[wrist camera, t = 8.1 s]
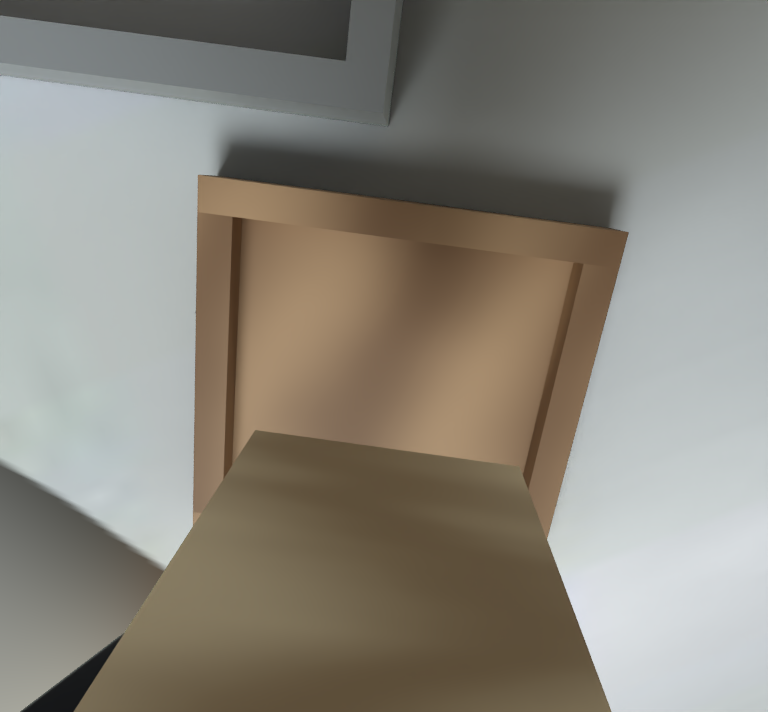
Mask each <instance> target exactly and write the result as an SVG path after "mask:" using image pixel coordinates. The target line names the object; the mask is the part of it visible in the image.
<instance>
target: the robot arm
mask: <svg viewBox="0 0 768 712" xmlns="http://www.w3.org/2000/svg"><path fill="white" fill-rule="evenodd" d="M123 634H124V633H123ZM123 634H122V635H121V636H119V637H118V638H117V639H115V640H114V641H113V642H111V643H110V644H109V645H108V646H106V647H105V648H103V649H102V650H101V651H100V652H98V653H97V654H95V655H94V656H93V657H92V658H90V659H89V660H88V661H87V662H85V663H84V664H82V665H81V666H80V667H78V668H77V669H76V670H74V671H73V672H72V673H70V675H68V676H67V677H65V678H64V679H63V680H61V681H60V682H59V683H57V684H56V685H55V686H53V687H52V688H51V689H49V690H48V691H47V692H45V693H44V694H43V695H42V696H40V697H39V698H38V699H36V700H35V701H34V702H32V703H31V704H30V705H28V706H27V707H26V708H24V709H23V710H22V711H21V712H74V710H75V709H76V707H77V706H78V704H79V703H80V701H81V700H82V698H83V696H84V695H85V693H86V692H87V690H88V689H89V687H90V686H91V684H92V682H93V681H94V679H95V678H96V676H97V675H98V673H99V672H100V670H101V669H102V667H103V665H104V664H105V662H106V661H107V659H108V658H109V656H110V655H111V653H112V651H113V650H114V648H115V647H116V645H117V644H118V642H119V641H120V639H121V637H122V636H123Z"/></svg>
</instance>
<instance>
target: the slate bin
mask: <svg viewBox="0 0 768 712" xmlns="http://www.w3.org/2000/svg"><path fill="white" fill-rule="evenodd" d="M402 7H403V0H351V9H350V20H349V31H348V42H347V53H346V61H343V60H335V59H328V58H320V57H313V56H305V55H297V54H290V53H282V52H275V51H267V50H259V49H252V48H244V47H237V46H229V45H221V44H214V43H206V42H199V41H191V40H183V39H176V38H168V37H161V36H153V35H145V34H138V33H130V32H123V31H115V30H107V29H100V28H92V27H84V26H77V25H69V24H62V23H54V22H46V21H39V20H31V19H24V18H16V17H8V16H1V15H0V75H3V76H10V77H18V78H26V79H33V80H41V81H48V82H56V83H63V84H71V85H78V86H86V87H94V88H101V89H109V90H116V91H124V92H131V93H139V94H146V95H154V96H162V97H169V98H177V99H184V100H192V101H199V102H207V103H214V104H222V105H230V106H237V107H245V108H252V109H260V110H267V111H275V112H282V113H290V114H298V115H305V116H313V117H320V118H328V119H335V120H343V121H351V122H358V123H366V124H373V125H381V126H388V125H389V117H390V108H391V100H392V91H393V83H394V75H395V66H396V58H397V49H398V41H399V32H400V24H401V16H402Z"/></svg>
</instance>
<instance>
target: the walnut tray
mask: <svg viewBox="0 0 768 712" xmlns="http://www.w3.org/2000/svg"><path fill="white" fill-rule="evenodd" d="M628 233H629V232H625V231H620V230H615V229H611V228H605V227H597V226H590V225H582V224H575V223H567V222H560V221H552V220H545V219H537V218H530V217H522V216H515V215H507V214H500V213H492V212H485V211H477V210H470V209H462V208H455V207H447V206H440V205H432V204H425V203H417V202H410V201H402V200H395V199H387V198H380V197H372V196H365V195H357V194H350V193H342V192H335V191H327V190H320V189H312V188H305V187H297V186H290V185H282V184H275V183H267V182H260V181H252V180H245V179H237V178H230V177H222V176H210V175H198V215H197V284H196V353H195V422H194V491H193V526H194V524H195V523H196V521H197V519H198V518H199V516H200V515H201V513H202V512H203V510H204V509H205V507H206V505H207V504H208V502H209V501H210V499H211V498H212V496H213V495H214V493H215V492H216V490H217V488H218V487H219V485H220V484H221V482H222V481H223V479H224V478H225V476H226V474H227V473H228V471H229V470H230V468H231V467H232V465H233V464H234V462H235V460H236V459H237V457H238V456H239V454H240V453H241V451H242V450H243V448H244V446H245V445H246V443H247V442H248V440H249V439H250V437H251V436H252V434H253V433H254V431H255V430H259V431H266V432H274V433H281V434H288V435H295V436H303V437H310V438H317V439H324V440H331V441H339V442H346V443H353V444H360V445H368V446H375V447H382V448H389V449H396V450H404V451H411V452H418V453H425V454H433V455H440V456H447V457H454V458H462V459H469V460H476V461H483V462H490V463H498V464H505V465H512V466H519V467H520V469H521V472H522V475H523V477H524V480H525V483H526V485H527V488H528V491H529V493H530V496H531V499H532V501H533V504H534V507H535V509H536V512H537V515H538V517H539V520H540V523H541V525H542V528H543V531H544V533H545V536H546V539H547V537H548V533H549V530H550V526H551V522H552V518H553V515H554V511H555V507H556V503H557V500H558V496H559V492H560V488H561V485H562V481H563V477H564V473H565V470H566V466H567V462H568V458H569V455H570V451H571V447H572V443H573V440H574V436H575V432H576V428H577V425H578V421H579V417H580V413H581V409H582V406H583V402H584V398H585V394H586V391H587V387H588V383H589V379H590V376H591V372H592V368H593V364H594V361H595V357H596V353H597V349H598V346H599V342H600V338H601V334H602V331H603V327H604V323H605V319H606V316H607V312H608V308H609V304H610V301H611V297H612V293H613V289H614V286H615V282H616V278H617V274H618V271H619V267H620V263H621V259H622V256H623V252H624V248H625V244H626V241H627V237H628Z"/></svg>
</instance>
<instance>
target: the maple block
mask: <svg viewBox="0 0 768 712" xmlns="http://www.w3.org/2000/svg"><path fill="white" fill-rule="evenodd" d="M74 712H611V709H610V707H609V704H608V701H607V699H606V696H605V693H604V691H603V688H602V685H601V683H600V680H599V677H598V675H597V672H596V669H595V667H594V664H593V661H592V659H591V656H590V653H589V651H588V648H587V645H586V643H585V640H584V637H583V635H582V632H581V629H580V627H579V624H578V621H577V619H576V616H575V613H574V611H573V608H572V605H571V603H570V600H569V597H568V595H567V592H566V589H565V587H564V584H563V581H562V579H561V576H560V573H559V571H558V568H557V565H556V563H555V560H554V557H553V555H552V552H551V549H550V547H549V544H548V541H547V539H546V536H545V533H544V531H543V528H542V525H541V523H540V520H539V517H538V515H537V512H536V509H535V507H534V504H533V501H532V499H531V496H530V493H529V491H528V488H527V485H526V483H525V480H524V477H523V475H522V472H521V469H520V467H519V466H512V465H505V464H498V463H490V462H483V461H476V460H469V459H462V458H454V457H447V456H440V455H433V454H425V453H418V452H411V451H404V450H396V449H389V448H382V447H375V446H368V445H360V444H353V443H346V442H339V441H331V440H324V439H317V438H310V437H303V436H295V435H288V434H281V433H274V432H266V431H259V430H255V431H254V433H253V434H252V436H251V437H250V439H249V440H248V442H247V443H246V445H245V446H244V448H243V450H242V451H241V453H240V454H239V456H238V457H237V459H236V460H235V462H234V464H233V465H232V467H231V468H230V470H229V471H228V473H227V474H226V476H225V478H224V479H223V481H222V482H221V484H220V485H219V487H218V488H217V490H216V492H215V493H214V495H213V496H212V498H211V499H210V501H209V502H208V504H207V505H206V507H205V509H204V510H203V512H202V513H201V515H200V516H199V518H198V519H197V521H196V523H195V524H194V526H193V527H192V529H191V530H190V532H189V533H188V535H187V537H186V538H185V540H184V541H183V543H182V544H181V546H180V547H179V549H178V551H177V552H176V554H175V555H174V557H173V558H172V560H171V561H170V563H169V564H168V566H167V568H166V569H165V571H164V572H163V574H162V575H161V577H160V579H159V580H158V582H157V583H156V585H155V586H154V588H153V589H152V591H151V593H150V594H149V596H148V597H147V599H146V600H145V602H144V603H143V605H142V606H141V608H140V610H139V611H138V613H137V614H136V616H135V617H134V619H133V620H132V622H131V623H130V625H129V627H128V628H127V630H126V631H125V633H124V634H123V636H122V637H121V639H120V641H119V642H118V644H117V645H116V647H115V648H114V650H113V651H112V653H111V655H110V656H109V658H108V659H107V661H106V662H105V664H104V665H103V667H102V669H101V670H100V672H99V673H98V675H97V676H96V678H95V679H94V681H93V682H92V684H91V686H90V687H89V689H88V690H87V692H86V693H85V695H84V696H83V698H82V700H81V701H80V703H79V704H78V706H77V707H76V709H75V710H74Z"/></svg>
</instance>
